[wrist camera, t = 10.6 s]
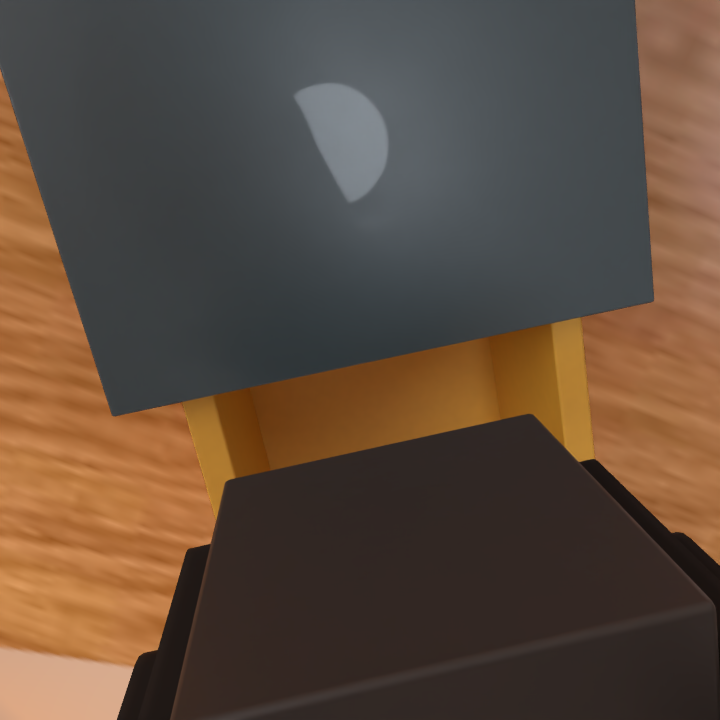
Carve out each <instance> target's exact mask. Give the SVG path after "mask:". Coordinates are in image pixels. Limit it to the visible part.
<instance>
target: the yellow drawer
mask: <svg viewBox="0 0 720 720" xmlns="http://www.w3.org/2000/svg"><path fill="white" fill-rule="evenodd" d="M182 405H183V408H184V412H185V415H186V419H187V422H188V426H189V429H190V433H191V436H192V440H193V443H194V447H195V450H196V454H197V457H198V460H199V464H200V467H201V471H202V474H203V478H204V481H205V485H206V488H207V492H208V495H209V499H210V502H211V506H212V509H213V513H214V516H215V520H216V519H217V515H218V511H219V506H220V502H221V498H222V493H223V489H224V485H225V482H226V481H228V480H230V479H234V478H239V477H244V476H248V475H253V474H257V473H262V472H266V471H271V470H275V469H280V468H284V467H289V466H293V465H298V464H302V463H307V462H312V461H316V460H321V459H325V458H330V457H334V456H339V455H343V454H348V453H352V452H357V451H361V450H366V449H370V448H375V447H379V446H384V445H389V444H393V443H398V442H402V441H407V440H411V439H416V438H420V437H425V436H429V435H434V434H438V433H443V432H447V431H452V430H457V429H461V428H466V427H470V426H475V425H479V424H484V423H488V422H493V421H497V420H502V419H506V418H511V417H515V416H520V415H524V414H533V415H534V416H535V417H536V418H537V419H538V420H539V421H540V422H541V423H542V424H543V425H544V426H545V427H546V428H547V429H548V430H549V431H550V432H551V434H552V435H553V436H554V437H555V438H556V439H557V440H558V441H559V442H560V443H561V444H562V445H563V446H564V447H565V448H566V449H567V450H568V451H569V452H570V453H571V454H572V455H573V456H574V457H575V459H576V460H577V461H578V462H581V461H585V460H590V459H595V453H594V443H593V433H592V423H591V412H590V402H589V392H588V382H587V371H586V361H585V351H584V341H583V330H582V320H581V317H580V318H575V319H570V320H566V321H561V322H556V323H551V324H547V325H542V326H537V327H533V328H528V329H523V330H519V331H514V332H509V333H504V334H500V335H495V336H490V337H486V338H481V339H476V340H471V341H467V342H462V343H457V344H453V345H448V346H443V347H439V348H434V349H429V350H424V351H420V352H415V353H410V354H406V355H401V356H396V357H392V358H387V359H382V360H377V361H373V362H368V363H363V364H359V365H354V366H349V367H345V368H340V369H335V370H330V371H326V372H321V373H316V374H312V375H307V376H302V377H298V378H293V379H288V380H283V381H279V382H274V383H269V384H265V385H260V386H255V387H250V388H246V389H241V390H236V391H232V392H227V393H222V394H218V395H213V396H208V397H203V398H199V399H194V400H189V401H185V402H182Z"/></svg>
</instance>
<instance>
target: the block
mask: <svg viewBox="0 0 720 720" xmlns="http://www.w3.org/2000/svg"><path fill="white" fill-rule="evenodd" d="M170 720H720V668H719V650H718V632H717V614H716V608H715V605H714V604H713V602H712V600H711V599H710V598H709V597H708V596H707V595H706V594H705V593H704V592H703V591H702V590H701V589H700V588H699V587H698V586H697V585H696V584H695V583H694V581H693V580H692V579H691V578H690V577H689V576H688V575H687V574H686V573H685V572H684V571H683V570H682V569H681V568H680V567H679V566H678V565H677V564H676V563H675V562H674V561H673V560H672V559H671V558H670V556H669V555H668V554H667V553H666V552H665V551H664V550H663V549H662V548H661V547H660V546H659V545H658V544H657V543H656V542H655V541H654V540H653V539H652V538H651V537H650V536H649V535H648V534H647V533H646V531H645V530H644V529H643V528H642V527H641V526H640V525H639V524H638V523H637V522H636V521H635V520H634V519H633V518H632V517H631V516H630V515H629V514H628V513H627V512H626V511H625V510H624V509H623V508H622V506H621V505H620V504H619V503H618V502H617V501H616V500H615V499H614V498H613V497H612V496H611V495H610V494H609V493H608V492H607V491H606V490H605V489H604V488H603V487H602V486H601V485H600V484H599V483H598V481H597V480H596V479H595V478H594V477H593V476H592V475H591V474H590V473H589V472H588V471H587V470H586V469H585V468H584V467H583V466H582V465H581V464H580V463H579V462H578V461H577V460H576V459H575V457H574V456H573V455H572V454H571V453H570V452H569V451H568V450H567V449H566V448H565V447H564V446H563V445H562V444H561V443H560V442H559V441H558V440H557V439H556V438H555V437H554V436H553V435H552V434H551V432H550V431H549V430H548V429H547V428H546V427H545V426H544V425H543V424H542V423H541V422H540V421H539V420H538V419H537V418H536V417H535V416H534V415H533V414H524V415H520V416H515V417H511V418H506V419H502V420H497V421H493V422H488V423H484V424H479V425H475V426H470V427H466V428H461V429H457V430H452V431H447V432H443V433H438V434H434V435H429V436H425V437H420V438H416V439H411V440H407V441H402V442H398V443H393V444H389V445H384V446H379V447H375V448H370V449H366V450H361V451H357V452H352V453H348V454H343V455H339V456H334V457H330V458H325V459H321V460H316V461H312V462H307V463H302V464H298V465H293V466H289V467H284V468H280V469H275V470H271V471H266V472H262V473H257V474H253V475H248V476H244V477H239V478H234V479H230V480H228V481H226V482H225V485H224V489H223V493H222V498H221V502H220V506H219V511H218V515H217V519H216V524H215V528H214V532H213V537H212V541H211V545H210V550H209V554H208V558H207V562H206V567H205V571H204V575H203V580H202V584H201V588H200V593H199V597H198V601H197V606H196V610H195V614H194V619H193V623H192V627H191V632H190V636H189V640H188V644H187V649H186V653H185V657H184V662H183V666H182V670H181V675H180V679H179V683H178V688H177V692H176V696H175V701H174V705H173V709H172V714H171V718H170Z"/></svg>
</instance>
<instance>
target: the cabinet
mask: <svg viewBox="0 0 720 720" xmlns="http://www.w3.org/2000/svg"><path fill="white" fill-rule="evenodd" d="M0 69H1V72H2V76H3V79H4V82H5V85H6V88H7V91H8V94H9V97H10V100H11V103H12V107H13V110H14V113H15V116H16V119H17V122H18V125H19V128H20V131H21V135H22V138H23V141H24V144H25V147H26V150H27V153H28V156H29V159H30V162H31V166H32V169H33V172H34V175H35V178H36V181H37V184H38V187H39V190H40V193H41V197H42V200H43V203H44V206H45V209H46V212H47V215H48V218H49V221H50V224H51V228H52V231H53V234H54V237H55V240H56V243H57V246H58V249H59V252H60V255H61V259H62V262H63V265H64V268H65V271H66V274H67V277H68V280H69V283H70V286H71V290H72V293H73V296H74V299H75V302H76V305H77V308H78V311H79V314H80V318H81V321H82V324H83V327H84V330H85V333H86V336H87V339H88V342H89V345H90V349H91V352H92V355H93V358H94V361H95V364H96V367H97V370H98V373H99V376H100V380H101V383H102V386H103V389H104V392H105V395H106V398H107V401H108V404H109V407H110V411H111V414H112V416H119V415H124V414H128V413H133V412H138V411H142V410H147V409H152V408H156V407H161V406H166V405H171V404H175V403H180V402H185V401H189V400H194V399H199V398H203V397H208V396H213V395H218V394H222V393H227V392H232V391H236V390H241V389H246V388H250V387H255V386H260V385H265V384H269V383H274V382H279V381H283V380H288V379H293V378H298V377H302V376H307V375H312V374H316V373H321V372H326V371H330V370H335V369H340V368H345V367H349V366H354V365H359V364H363V363H368V362H373V361H377V360H382V359H387V358H392V357H396V356H401V355H406V354H410V353H415V352H420V351H424V350H429V349H434V348H439V347H443V346H448V345H453V344H457V343H462V342H467V341H471V340H476V339H481V338H486V337H490V336H495V335H500V334H504V333H509V332H514V331H519V330H523V329H528V328H533V327H537V326H542V325H547V324H551V323H556V322H561V321H566V320H570V319H575V318H580V317H584V316H589V315H594V314H598V313H603V312H608V311H613V310H617V309H622V308H627V307H631V306H636V305H641V304H645V303H650V302H653V301H654V291H653V276H652V260H651V245H650V229H649V214H648V198H647V183H646V167H645V152H644V136H643V121H642V105H641V89H640V74H639V58H638V43H637V27H636V12H635V0H0Z"/></svg>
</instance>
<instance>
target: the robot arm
mask: <svg viewBox="0 0 720 720" xmlns="http://www.w3.org/2000/svg"><path fill="white" fill-rule="evenodd" d="M579 463H580V464H581V465H582V466H583V467H584V468H585V469H586V470H587V471H588V472H589V473H590V474H591V475H592V476H593V477H594V478H595V479H596V480H597V481H598V483H599V484H600V485H601V486H602V487H603V488H604V489H605V490H606V491H607V492H608V493H609V494H610V495H611V496H612V497H613V498H614V499H615V500H616V501H617V502H618V503H619V504H620V505H621V506H622V508H623V509H624V510H625V511H626V512H627V513H628V514H629V515H630V516H631V517H632V518H633V519H634V520H635V521H636V522H637V523H638V524H639V525H640V526H641V527H642V528H643V529H644V530H645V531H646V533H647V534H648V535H649V536H650V537H651V538H652V539H653V540H654V541H655V542H656V543H657V544H658V545H659V546H660V547H661V548H662V549H663V550H664V551H665V552H666V553H667V554H668V555H669V556H670V558H671V559H672V560H673V561H674V562H675V563H676V564H677V565H678V566H679V567H680V568H681V569H682V570H683V571H684V572H685V573H686V574H687V575H688V576H689V577H690V578H691V579H692V580H693V581H694V583H695V584H696V585H697V586H698V587H699V588H700V589H701V590H702V591H703V592H704V593H705V594H706V595H707V596H708V597H709V598H710V599H711V600H712V602H713V604H714V605H715V608H716V614H717V632H718V650H719V668H720V566H719V565H718V564H717V563H716V562H715V561H714V560H713V559H712V558H711V557H710V556H709V555H708V554H707V553H706V552H704V551H703V550H702V549H701V548H700V547H699V546H698V545H697V544H696V543H695V542H694V541H693V540H692V539H691V538H689V537H688V536H686V535H685V534H684V533H679V532H675V533H671V532H670V531H669V530H668V529H667V528H666V527H665V526H664V525H663V524H662V523H661V522H660V521H659V520H658V519H657V518H656V517H655V516H653V515H652V514H651V513H650V512H649V511H648V510H647V509H646V508H645V507H644V506H643V505H642V504H641V503H640V502H639V501H638V500H637V499H636V498H635V497H634V496H633V495H632V494H631V493H630V492H629V491H628V490H627V489H626V488H625V487H624V486H623V485H622V484H621V483H620V482H619V481H618V480H617V479H616V478H615V477H614V476H613V475H612V474H610V473H609V472H608V471H607V470H606V469H605V468H604V467H603V466H602V465H601V464H600V463H599V462H598V461H597V460H595V459H590V460H585V461H581V462H579ZM210 545H211V544H209V545H204V546H200V547H195V548H191V549H188V550H187V552H186V555H185V559H184V562H183V565H182V569H181V572H180V576H179V579H178V583H177V586H176V590H175V593H174V596H173V600H172V603H171V607H170V610H169V614H168V617H167V620H166V624H165V627H164V631H163V634H162V638H161V641H160V645H159V648H158V650H156V651H151V652H147V653H143V654H142V655H141V656H139V657H138V660H137V662H136V664H135V666H134V669H133V672H132V675H131V678H130V681H129V684H128V688H127V691H126V694H125V696H124V699H123V703H122V706H121V709H120V712H119V715H118V718H117V720H170V718H171V714H172V709H173V705H174V701H175V696H176V692H177V688H178V683H179V679H180V675H181V670H182V666H183V662H184V657H185V653H186V649H187V644H188V640H189V636H190V632H191V627H192V623H193V619H194V614H195V610H196V606H197V601H198V597H199V593H200V588H201V584H202V580H203V575H204V571H205V567H206V562H207V558H208V554H209V550H210Z"/></svg>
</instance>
